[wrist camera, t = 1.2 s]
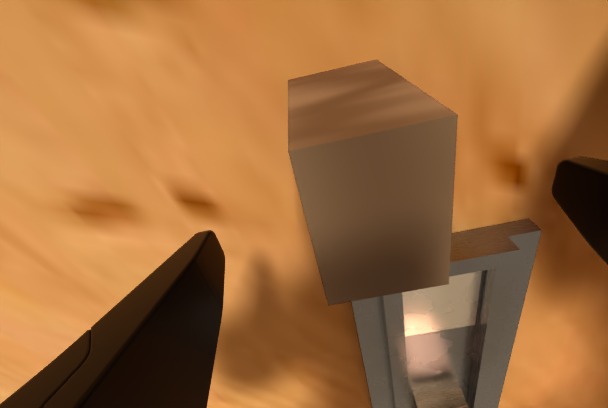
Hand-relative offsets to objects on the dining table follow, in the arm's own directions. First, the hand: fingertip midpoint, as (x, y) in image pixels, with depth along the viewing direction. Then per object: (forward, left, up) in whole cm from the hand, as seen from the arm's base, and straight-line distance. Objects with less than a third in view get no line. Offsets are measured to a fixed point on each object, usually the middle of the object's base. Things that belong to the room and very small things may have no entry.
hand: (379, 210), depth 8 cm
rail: (-4, +17, -6) cm, 19 cm away
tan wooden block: (0, 0, -6) cm, 6 cm away
